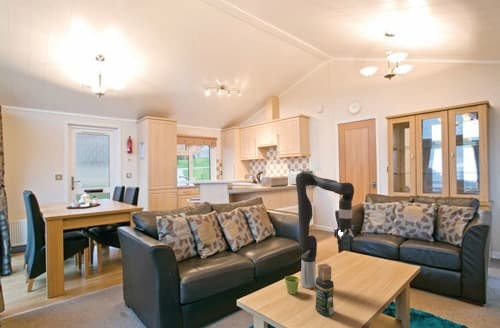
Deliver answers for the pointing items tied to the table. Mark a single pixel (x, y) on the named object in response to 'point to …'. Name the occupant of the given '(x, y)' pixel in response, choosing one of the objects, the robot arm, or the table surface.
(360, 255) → the table surface
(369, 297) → the table surface
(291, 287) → the plant pot
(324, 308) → the coffee jar
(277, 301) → the table surface
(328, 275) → the walnut block
